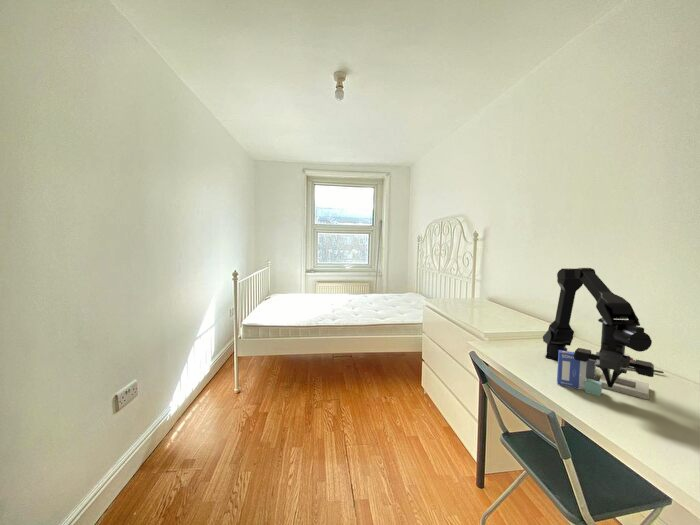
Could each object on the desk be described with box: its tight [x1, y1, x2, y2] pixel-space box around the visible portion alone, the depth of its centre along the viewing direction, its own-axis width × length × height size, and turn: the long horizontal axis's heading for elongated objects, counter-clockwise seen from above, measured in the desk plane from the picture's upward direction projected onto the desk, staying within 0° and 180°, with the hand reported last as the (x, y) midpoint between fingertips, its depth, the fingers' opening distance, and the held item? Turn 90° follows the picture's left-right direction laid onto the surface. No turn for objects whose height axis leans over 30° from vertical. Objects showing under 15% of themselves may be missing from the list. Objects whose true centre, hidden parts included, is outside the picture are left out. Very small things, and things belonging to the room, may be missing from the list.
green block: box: [580, 378, 603, 397], centre depth 99 cm, size 6×4×4 cm, turn 44°
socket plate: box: [598, 371, 650, 401], centre depth 101 cm, size 12×10×2 cm
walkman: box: [556, 350, 587, 391], centre depth 102 cm, size 8×3×12 cm, turn 60°
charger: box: [586, 359, 597, 381], centre depth 109 cm, size 4×4×7 cm
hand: (610, 386), depth 95 cm, fingers closed
